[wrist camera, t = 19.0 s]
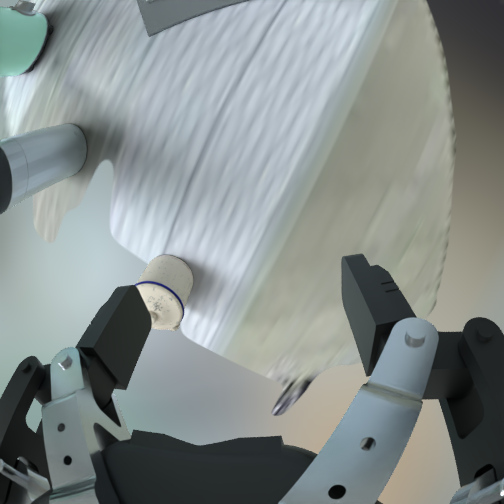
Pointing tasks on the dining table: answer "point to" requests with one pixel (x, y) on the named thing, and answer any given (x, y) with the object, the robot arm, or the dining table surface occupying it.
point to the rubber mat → (176, 11)
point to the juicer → (21, 38)
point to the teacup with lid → (166, 290)
